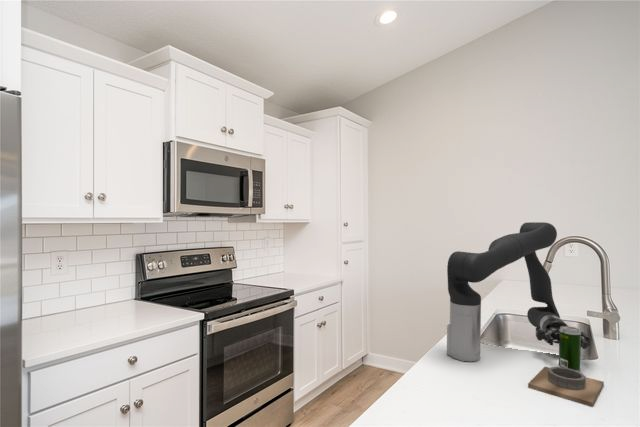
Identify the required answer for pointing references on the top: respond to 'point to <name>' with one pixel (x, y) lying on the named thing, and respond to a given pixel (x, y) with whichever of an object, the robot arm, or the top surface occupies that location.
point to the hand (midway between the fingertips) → (568, 343)
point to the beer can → (570, 348)
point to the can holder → (567, 384)
